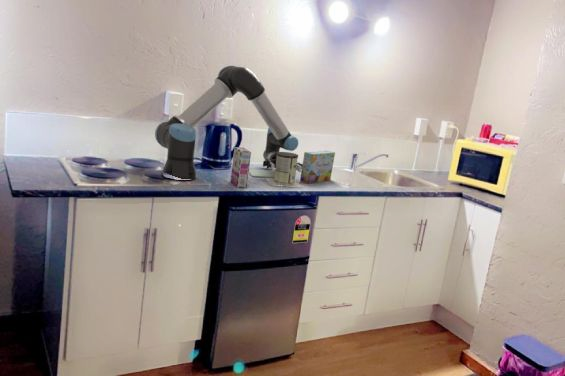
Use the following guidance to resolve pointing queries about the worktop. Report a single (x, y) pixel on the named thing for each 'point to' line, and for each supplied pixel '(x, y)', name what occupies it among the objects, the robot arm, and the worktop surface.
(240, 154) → the candy bar box
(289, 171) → the coffee can
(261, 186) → the worktop surface
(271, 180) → the tile
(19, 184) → the worktop surface
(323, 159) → the snack box
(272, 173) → the sage board
